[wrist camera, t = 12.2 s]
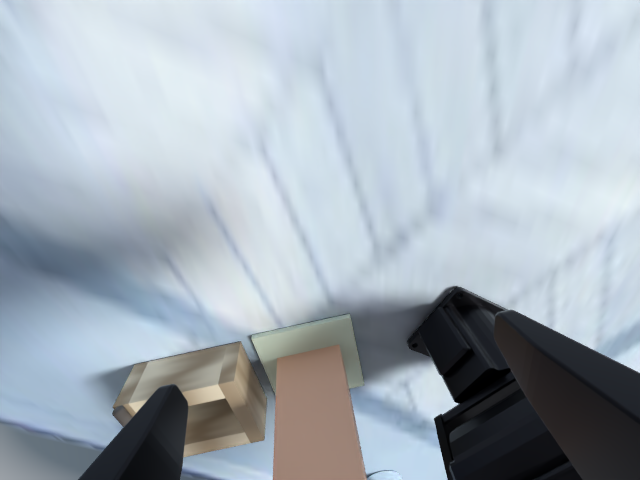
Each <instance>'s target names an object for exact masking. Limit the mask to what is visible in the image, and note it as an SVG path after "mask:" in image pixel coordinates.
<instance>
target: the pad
mask: <svg viewBox="0 0 640 480" xmlns="http://www.w3.org/2000/svg"><path fill="white" fill-rule="evenodd" d="M251 339H252V342H253V344H254V346H255V349H256V351H257V353H258V356H259V358H260V360H261V363H262V365H263V367H264V370H265V372H266V374H267V377H268V379H269V381H270V384H271V386H272V388H273V391H274V393H275V395H276V375H277V358H281V357H285V356H290V355H294V354H298V353H303V352H307V351H312V350H316V349H321V348H325V347H330V346H334V345H339V346H340V350H341V354H342V358H343V362H344V366H345V370H346V375H347V380H348V385H349V389H350V388H355V387H359V386H364V380H363V375H362V370H361V365H360V360H359V355H358V351H357V346H356V341H355V336H354V331H353V326H352V321H351V317H350V314H346V315H342V316H337V317H332V318H328V319H323V320H319V321H314V322H309V323H305V324H300V325H296V326H291V327H287V328H282V329H277V330H273V331H268V332H264V333H259V334H254V335H252V338H251Z"/></svg>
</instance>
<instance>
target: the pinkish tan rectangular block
mask: <svg viewBox="0 0 640 480" xmlns="http://www.w3.org/2000/svg"><path fill="white" fill-rule="evenodd" d="M273 480H367V477H366V472H365V467H364V462H363V457H362V452H361V447H360V441H359V436H358V431H357V426H356V421H355V416H354V411H353V406H352V400H351V395H350V390H349V385H348V380H347V375H346V370H345V366H344V362H343V358H342V354H341V350H340V346H339V345H334V346H330V347H325V348H321V349H316V350H312V351H307V352H303V353H298V354H294V355H290V356H285V357H281V358H277V375H276V404H275V433H274V461H273Z"/></svg>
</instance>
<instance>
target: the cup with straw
mask: <svg viewBox="0 0 640 480" xmlns="http://www.w3.org/2000/svg"><path fill="white" fill-rule="evenodd" d="M367 480H403V478H402V475H401V474H400V473H398V472H395V471H381V472H377V473H375V474H372V475H371V476H369V477H368V478H367Z"/></svg>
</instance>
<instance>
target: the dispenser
mask: <svg viewBox="0 0 640 480" xmlns="http://www.w3.org/2000/svg"><path fill="white" fill-rule="evenodd" d="M169 384H175V385H177V386H178V388H179V389H180V391H181V392H182V394H183V395H184V397H185V398H186V400H187V402H188V408H189V409H188V419H187V428H186V437H185V446H184V456H183V457H187V456H192V455H197V454H201V453H206V452H211V451H215V450H220V449H225V448H230V447H234V446H239V445H244V444H248V443H253V442H258V441H262V440H264V438H265V421H266V405H267V398H266V396H265V394H264V392H263V389H262V387H261V385H260V383H259V381H258V378H257V376H256V374H255V372H254V370H253V367H252V365H251V363H250V361H249V359H248V356H247V354H246V352H245V350H244V348H243V345H242V343H241V342H236V343H231V344H227V345H222V346H218V347H213V348H208V349H204V350H199V351H195V352H190V353H185V354H181V355H176V356H172V357H167V358H162V359H158V360H153V361H149V362H144V363H140V364H135V365H134V367H133V369H132V371H131V373H130V374H129V376H128V378H127V380H126V382H125V384H124V386H123V388H122V390H121V392H120V394H119V396H118V398H117V400H116V402H115V404H114V405H113V408H114V411H113V413H112V414H113V416H114V417H115V418H116V419H117V420H118V421H119V423H120V424H121V425H122V426H123V427H124V426H125V425H126V424H127V423H128V422H129V421H130V420H131V418H132V417H133V416H134V415H135V414H136V413H137V412H138V410H139V409H140V408H141V407H142V406H143V405H144V403H145V402H146V401H147V400H148V399H149V398H150V397H151V395H152V394H153V393H154V392H155V391H156V390H157V389H158V388H159V387H161V386H164V385H169Z"/></svg>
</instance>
